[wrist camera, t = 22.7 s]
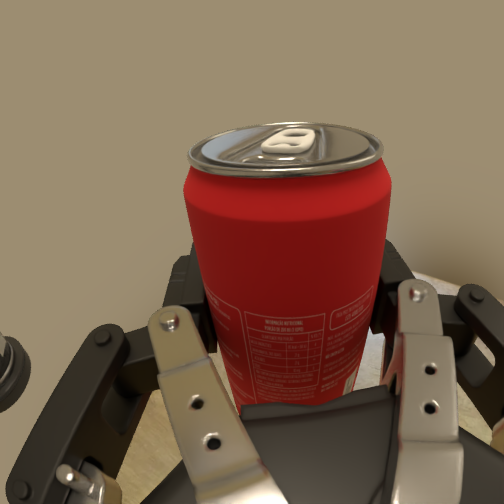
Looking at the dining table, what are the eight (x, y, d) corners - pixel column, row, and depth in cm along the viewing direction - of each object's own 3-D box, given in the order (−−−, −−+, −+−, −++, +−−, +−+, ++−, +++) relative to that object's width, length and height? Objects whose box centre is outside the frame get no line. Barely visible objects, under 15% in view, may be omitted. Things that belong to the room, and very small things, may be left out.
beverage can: (221, 434, 13) (130, 175, 6) (259, 354, 17) (230, 121, 10) (332, 462, 11) (403, 186, 4) (353, 371, 15) (388, 125, 8)
